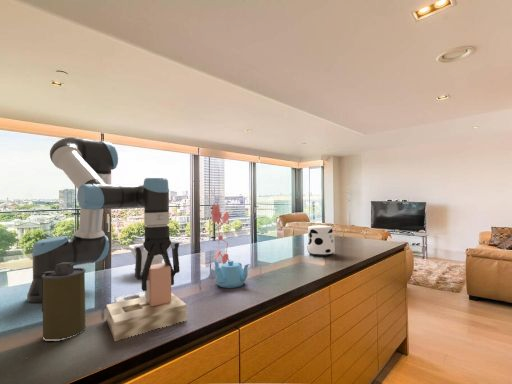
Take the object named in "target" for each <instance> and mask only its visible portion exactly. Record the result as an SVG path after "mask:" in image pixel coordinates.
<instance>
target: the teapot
mask: <svg viewBox="0 0 512 384" xmlns="http://www.w3.org/2000/svg"><path fill="white" fill-rule="evenodd" d="M212 261H213V262H214V273H215V283H216V284H217V285H218V286H219V287H221V288H222V289H223V288H224V289H233V288H234V289H235V288H240V287H241V286H243V285H244V284H245V283H246V281H247V279H248V274H249V273H248V267H249V266H250V265H251V263H247V264H245V265H244V267H243V264H242V263H241V262H234V260H230V261H228V260H227V262H226V263H225V264H223V263H222V264H221V266H220V264H219V262H218V260H217V259H216V260H214V258H213V260H212Z"/></svg>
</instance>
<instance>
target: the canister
mask: <svg viewBox="0 0 512 384" xmlns="http://www.w3.org/2000/svg"><path fill="white" fill-rule="evenodd" d="M73 265H75V262H62V263H60V264H57V265H56V266H55V271H47V272H44V273H42V302H41V312H42V336H43V337H44V338H45V339H62V338H67V337H70V336H73V335H76V334H78V333H80V332H82V331H83V330H85V328H86V329H87V325H86V289H85V288H86V283H85V282H86V280H85V279H86V278H85V277H86V276H85V275H86V274H85V273H86V271H87V270H86V269H85V268H83V267H74V266H73ZM85 331H86V330H85ZM82 333H83V332H82Z"/></svg>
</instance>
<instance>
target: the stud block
mask: <svg viewBox="0 0 512 384" xmlns="http://www.w3.org/2000/svg"><path fill="white" fill-rule="evenodd" d="M147 279H148V280H149V288H150V302H148V303H149V304H150V305H151V306H156V305H160V304H164V303H168V302H171V292H172V285H171V267H170V266H169V265H168V266H167V265H166V264H165V262H162V263H160V264H153V265H151V267H150V268H149V273H148V277H147Z"/></svg>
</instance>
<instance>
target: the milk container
mask: <svg viewBox="0 0 512 384" xmlns="http://www.w3.org/2000/svg"><path fill="white" fill-rule="evenodd" d="M333 229H334V228H333V226H332V225H323V224H322V225H309V226H308V227H307V238H308V241H307V244H306V245H307V246H306V248H307V252H308V254H310V255H312V256H320V257H326V256H331V255H334V253H335V249H336V247H335V242H334V230H333Z"/></svg>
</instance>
